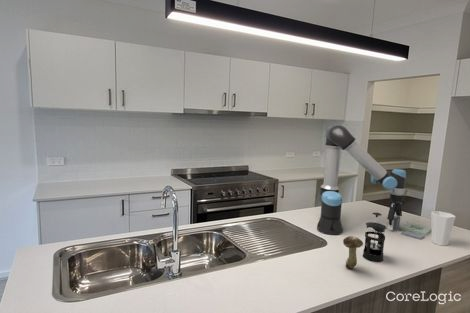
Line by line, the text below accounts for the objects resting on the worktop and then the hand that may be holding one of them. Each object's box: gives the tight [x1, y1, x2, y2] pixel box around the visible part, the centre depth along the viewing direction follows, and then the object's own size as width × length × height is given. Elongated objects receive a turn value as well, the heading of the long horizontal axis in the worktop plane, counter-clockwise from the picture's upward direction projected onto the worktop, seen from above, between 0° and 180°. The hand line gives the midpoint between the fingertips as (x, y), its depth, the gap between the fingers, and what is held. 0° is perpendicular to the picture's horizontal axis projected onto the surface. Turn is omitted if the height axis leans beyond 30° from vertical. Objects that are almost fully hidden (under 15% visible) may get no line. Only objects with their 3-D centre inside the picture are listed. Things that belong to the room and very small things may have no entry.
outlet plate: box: [399, 221, 432, 237], centre depth 184 cm, size 14×14×2 cm
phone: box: [400, 230, 426, 241], centre depth 175 cm, size 11×6×1 cm, turn 40°
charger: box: [390, 215, 401, 232], centre depth 184 cm, size 5×5×8 cm
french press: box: [362, 212, 387, 263], centre depth 143 cm, size 12×9×23 cm
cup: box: [430, 210, 456, 247], centre depth 163 cm, size 11×10×17 cm
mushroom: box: [342, 235, 364, 270], centre depth 132 cm, size 9×9×15 cm
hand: (393, 227), depth 185 cm, fingers open, 11 cm apart
